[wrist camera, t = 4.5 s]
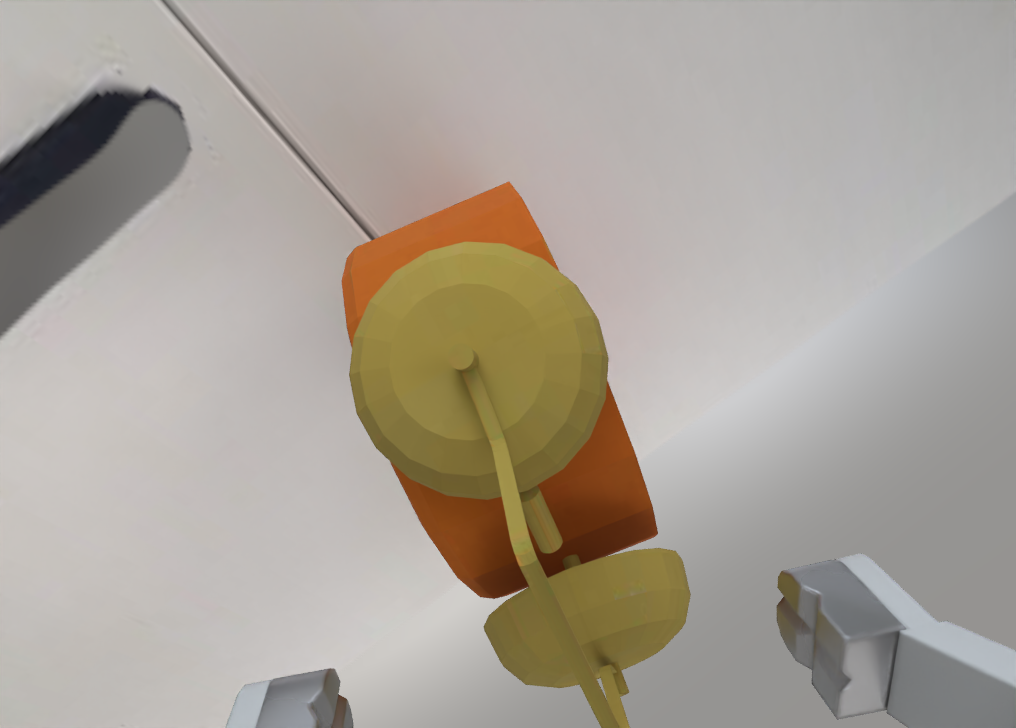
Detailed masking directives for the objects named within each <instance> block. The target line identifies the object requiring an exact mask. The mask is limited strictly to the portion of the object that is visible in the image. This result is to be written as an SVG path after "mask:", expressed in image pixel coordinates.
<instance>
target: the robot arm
mask: <svg viewBox="0 0 1016 728" xmlns="http://www.w3.org/2000/svg"><path fill="white" fill-rule="evenodd" d="M778 589H779V590H780V591H781V593H782V594H783V595H784V597H783V598H782V600H781V601H780V602H779V604H778V605H777V623H778V626H779V629H780V633H781V636H782V638H783V640H784V642H785V644H786V646H787V648H788V650H789V651H790V652H791V654H792V656H793V657H794V658H795V660H796V661H797V662H799V663H801V664H802V665H804V666H806V667H808V668H810V669H811V670H812V685H813V686H814V687H815V689H816V690H817V692H818V693H819V695H820V696H821V697H822V699H823V700H824V702H825V703H826V704H827V706H828V707H829V709H830V710H831V712H832V713H833V714H834V716H835V717H836V719H837V720H838V719H843V718H848V717H853V716H858V715H864V714H869V713H874V712H878V711H884V710H887V714H889V715H891V716H892V717H893V718H895V719H896V720H898V721H899V722H901V723H902V724H904V725H905V726H907V727H908V728H1016V650H1013V649H1011V648H1009V647H1006V646H1004V645H1001V644H999V643H997V642H995V641H993V640H990V639H988V638H986V637H983V636H981V635H978V634H976V633H974V632H972V631H969V630H967V629H965V628H963V627H960V626H958V625H956V624H953V623H951V622H949V621H943V622H938V621H937V620H935V619H934V618H933V617H932V616H931V615H930V614H929V613H928V612H927V611H926V610H925V609H924V608H923V607H922V606H921V605H920V604H918V603H917V602H916V601H915V600H914V599H913V598H912V597H911V596H910V595H909V594H908V593H907V592H906V591H905V590H904V589H903V588H902V587H900V586H899V585H898V584H897V583H896V582H895V581H894V580H893V579H892V578H891V577H890V576H889V575H887V573H886V572H885V571H883V570H882V569H881V568H880V567H879V566H878V565H877V564H876V563H875V562H874V561H873V560H872V559H871V558H870V557H868V556H866V555H864V554H857V555H852V556H848V557H843V558H838V559H835V560H828V561H824V562H819V563H815V564H810V565H806V566H802V567H797V568H793V569H788V570H784V571H782V572H781V573H780V575H779V576H778ZM339 687H340V680H339V677H338V675H337V673H336V671H335V669H331V668H330V669H324V670H319V671H314V672H308V673H303V674H297V675H292V676H287V677H281V678H276V679H273V680H267V681H262V682H257V683H252V684H247V685H244V687H243V688H242V689H241V691H240V692H239V693H238V695H237V697H236V700H235V703H234V705H233V708H232V711H231V714H230V716H229V719H228V722H227V725H226V727H225V728H353V719H352V714H351V709H350V706H349V703H348V701H347V699H346V698H344V697H342V696H340V695H339V694H338V693H339Z"/></svg>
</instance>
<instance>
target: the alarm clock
mask: <svg viewBox="0 0 1016 728" xmlns="http://www.w3.org/2000/svg"><path fill="white" fill-rule="evenodd" d="M342 289H343V297H344V306H345V314H346V323H347V329H348V334H349V339H350V342H351V346H352V356H351V365H350V373H349V376H350V381H351V386H352V391H353V397H354V402H355V407H356V412H357V415H358V417H359V418H360V420H361V422H362V424H363V426H364V427H365V429H366V431H367V433H368V435H369V436H370V438H371V440H372V442H373V443H374V445H375V447H376V448H377V449H378V450H379V451H380V452H381V453H382V454H383V455H384V456H385V457H386V458H387V459H389V460H390V462H391V465H392V467H393V469H394V471H395V473H396V475H397V477H398V479H399V481H400V483H401V485H402V487H403V488H404V490H405V492H406V494H407V496H408V498H409V500H410V502H411V504H412V506H413V508H414V510H415V512H416V514H417V516H418V518H419V520H420V522H421V524H422V526H423V527H424V529H425V531H426V532H427V534H428V535H429V537H430V538H431V540H432V541H433V543H434V544H435V545H436V547H437V548H438V550H439V551H440V553H441V554H442V556H443V557H444V559H445V560H446V562H447V563H448V565H449V566H450V567H451V569H452V570H453V572H454V573H455V575H456V576H457V578H458V579H460V580H461V581H462V582H463V583H464V584H466V585H467V586H468V587H469V588H470V589H471V590H473V591H474V592H475V593H476V594H477V595H478V596H480V597H484V598H493V599H495V598H499V597H503V596H507V595H509V594H512V593H514V592H517V591H520V590H522V589H524V588H526V589H525V590H523V591H522V592H520V593H518V594H516V595H515V596H513V597H512V598H510V599H508V600H506V601H505V602H504V603H503V604H502V605H500V606H499V607H498V608H497V609H496V610H495V611H494V612H492V613H491V614H490V615H489V617H488V619H487V621H486V623H485V625H484V630H485V632H486V634H487V636H488V638H489V640H490V642H491V644H492V646H493V648H494V650H495V652H496V654H497V656H498V658H499V660H500V662H501V663H502V664H503V666H504V667H505V668H506V669H507V670H508V671H510V672H511V673H512V674H513V675H514V676H516V677H517V678H518V679H519V680H521V681H522V682H523V683H524V684H526V685H535V686H546V687H556V688H564V687H570V686H575V685H580V686H581V688H582V690H583V692H584V694H585V696H586V698H587V700H588V702H589V704H590V706H591V708H592V710H593V712H594V714H595V716H596V718H597V720H598V722H599V724H600V726H601V728H630V727H629V724H628V721H627V717H626V714H625V711H624V708H623V705H622V702H621V698H620V697H621V696H623V695H626V694H627V693H629V690H628V687H627V685H626V682H625V680H624V677H623V674H622V672H621V670H623V669H626V668H628V667H630V666H633V665H635V664H637V663H639V662H641V661H643V660H645V659H647V658H649V657H651V656H652V655H654V654H656V653H657V652H659V651H660V650H661V649H663V648H664V647H665V646H666V645H667V644H668V643H669V642H670V640H671V639H672V638H673V637H674V636H675V635H676V634H677V633H678V632H679V631H680V630H681V629H682V627H683V626H684V624H685V621H686V616H687V611H688V605H689V600H690V590H689V587H688V582H687V577H686V573H685V569H684V565H683V561H682V559H681V557H680V556H679V555H678V554H677V552H676V551H673V550H667V549H661V548H654V549H643V550H633V551H628V552H624V553H620V554H615V555H612V556H608V555H610V554H613V553H615V552H618V551H620V550H623V549H625V548H628V547H631V546H633V545H636V544H638V543H641V542H643V541H646V540H648V539H651V538H653V537H655V536H656V535H657V534H658V531H657V527H656V521H655V516H654V512H653V507H652V504H651V501H650V497H649V495H648V491H647V488H646V485H645V482H644V479H643V476H642V473H641V470H640V467H639V464H638V461H637V457H636V454H635V452H634V449H633V446H632V444H631V441H630V439H629V436H628V433H627V431H626V428H625V426H624V423H623V420H622V418H621V415H620V413H619V410H618V407H617V405H616V402H615V399H614V397H613V394H612V392H611V389H610V386H609V384H608V381H607V372H608V355H607V351H606V347H605V343H604V339H603V336H602V332H601V328H600V324H599V320H598V318H597V316H596V315H595V313H594V312H593V310H592V309H591V307H590V306H589V304H588V302H587V301H586V299H585V298H584V296H583V295H582V293H581V292H580V290H579V288H578V287H577V286H576V285H575V284H574V283H573V282H572V281H570V280H569V279H568V278H567V277H565V276H564V275H563V274H562V273H560V272H559V270H558V267H557V265H556V263H555V261H554V259H553V257H552V255H551V253H550V251H549V248H548V246H547V244H546V242H545V240H544V238H543V236H542V234H541V232H540V231H539V229H538V227H537V225H536V223H535V221H534V220H533V218H532V216H531V214H530V212H529V210H528V209H527V207H526V205H525V203H524V201H523V199H522V198H521V196H520V195H519V194H518V192H517V191H516V190H515V189H514V187H513V186H512V185H511V183H510V182H507V183H505V184H502V185H500V186H498V187H495V188H493V189H491V190H488V191H486V192H484V193H481V194H479V195H477V196H474V197H472V198H470V199H467V200H465V201H463V202H460V203H458V204H456V205H453V206H451V207H449V208H446V209H444V210H442V211H439V212H437V213H435V214H432V215H430V216H428V217H425V218H423V219H421V220H418V221H416V222H414V223H411V224H409V225H407V226H405V227H402V228H400V229H398V230H395V231H393V232H391V233H388V234H386V235H384V236H381V237H379V238H377V239H374V240H372V241H370V242H367V243H365V244H363V245H360V246H358V247H356V248H355V249H354V250H353V251H352V253H351V254H350V255H349V256H348V258H347V260H346V265H345V269H344V273H343V277H342ZM605 556H607V557H605ZM527 587H528V588H527ZM599 678H601V680H602V684H603V687H604V690H605V694H606V698H607V700H606V698H605V696H604V694H603V692H602V690H601V687H600V686H599V683H598V681H597V679H599ZM607 701H608V702H607Z"/></svg>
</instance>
